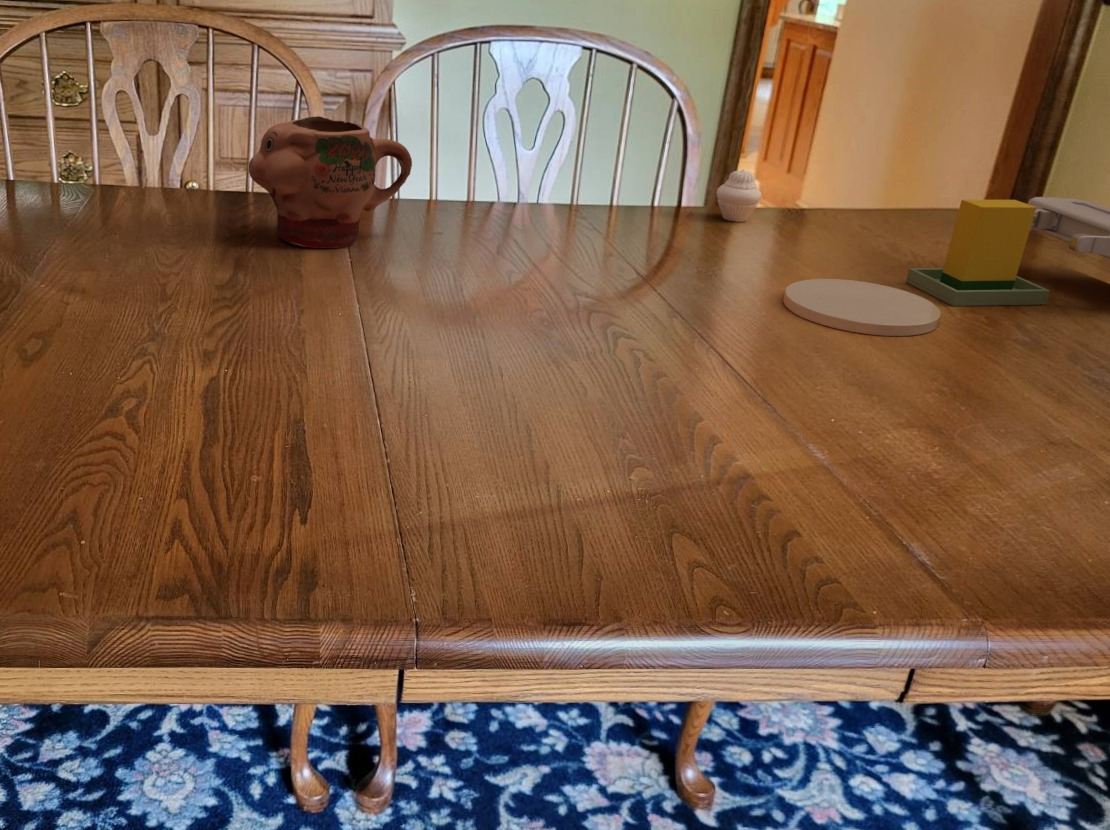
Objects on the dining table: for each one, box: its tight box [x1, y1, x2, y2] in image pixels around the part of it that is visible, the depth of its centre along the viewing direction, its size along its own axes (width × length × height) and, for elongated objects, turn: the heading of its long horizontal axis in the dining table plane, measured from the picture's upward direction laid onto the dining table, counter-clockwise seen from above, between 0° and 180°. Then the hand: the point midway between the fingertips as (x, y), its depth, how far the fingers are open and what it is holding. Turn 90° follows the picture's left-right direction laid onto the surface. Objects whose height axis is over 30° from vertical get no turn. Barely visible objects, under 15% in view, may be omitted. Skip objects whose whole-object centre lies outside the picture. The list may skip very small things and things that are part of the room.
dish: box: [905, 267, 1051, 307], centre depth 128 cm, size 12×9×2 cm
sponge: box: [940, 199, 1036, 290], centre depth 126 cm, size 7×4×10 cm, turn 101°
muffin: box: [716, 168, 762, 223], centre depth 154 cm, size 6×6×7 cm
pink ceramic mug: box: [248, 115, 413, 249], centre depth 133 cm, size 20×12×14 cm, turn 112°
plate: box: [782, 278, 942, 337], centre depth 120 cm, size 16×16×1 cm
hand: (1044, 232), depth 127 cm, fingers open, 8 cm apart
